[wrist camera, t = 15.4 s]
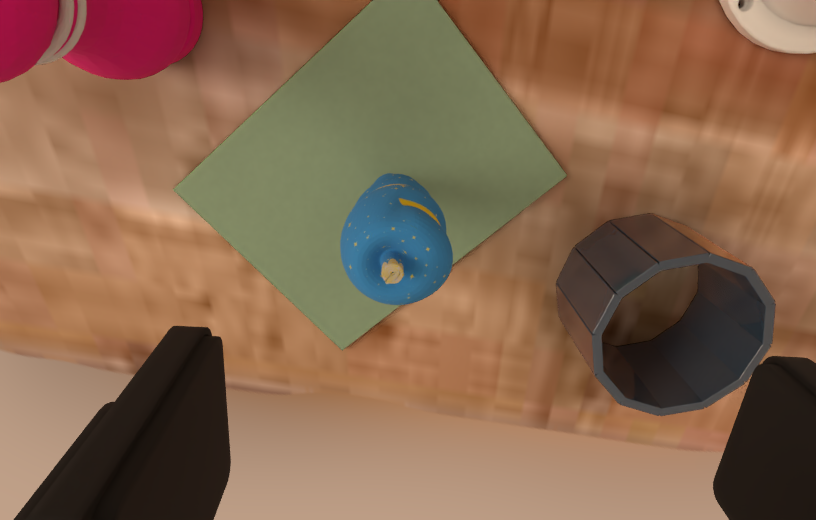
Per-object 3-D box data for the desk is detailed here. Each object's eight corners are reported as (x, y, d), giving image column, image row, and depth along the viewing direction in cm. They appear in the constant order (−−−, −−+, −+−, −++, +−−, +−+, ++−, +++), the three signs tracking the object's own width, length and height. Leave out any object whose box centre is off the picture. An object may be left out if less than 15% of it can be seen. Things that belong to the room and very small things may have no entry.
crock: (658, 183, 37) (721, 217, 30) (732, 293, 40) (805, 346, 33) (527, 280, 39) (558, 332, 32) (608, 376, 43) (651, 442, 36)
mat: (410, -35, 32) (410, -36, 31) (565, 174, 36) (567, 175, 36) (174, 188, 36) (172, 189, 36) (342, 348, 41) (342, 350, 40)
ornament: (448, 193, 36) (486, 291, 22) (385, 237, 37) (385, 357, 23) (401, 128, 35) (411, 191, 21) (337, 177, 36) (306, 267, 22)
